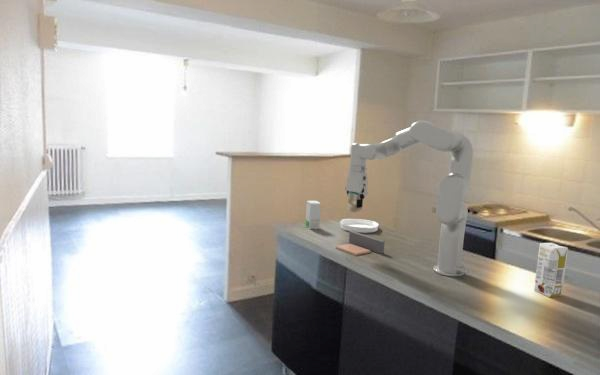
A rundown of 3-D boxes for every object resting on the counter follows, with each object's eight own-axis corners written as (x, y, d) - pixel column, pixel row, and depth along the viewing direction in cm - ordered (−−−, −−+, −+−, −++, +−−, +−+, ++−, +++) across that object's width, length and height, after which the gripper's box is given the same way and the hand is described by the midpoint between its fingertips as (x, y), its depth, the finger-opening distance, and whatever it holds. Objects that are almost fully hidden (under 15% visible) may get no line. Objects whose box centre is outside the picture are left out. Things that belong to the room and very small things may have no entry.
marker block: (362, 211, 206) (363, 193, 204) (354, 212, 203) (356, 193, 201) (354, 209, 210) (356, 191, 208) (347, 210, 207) (348, 192, 205)
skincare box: (305, 226, 255) (306, 200, 253) (315, 225, 257) (316, 200, 255) (309, 229, 247) (310, 203, 245) (320, 229, 249) (321, 202, 247)
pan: (359, 222, 273) (360, 216, 272) (390, 232, 250) (391, 225, 250) (329, 225, 259) (329, 219, 259) (358, 236, 237) (359, 229, 237)
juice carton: (548, 298, 158) (555, 248, 155) (530, 289, 166) (536, 242, 163) (564, 297, 160) (571, 248, 157) (545, 288, 168) (552, 241, 165)
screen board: (383, 253, 206) (384, 241, 205) (380, 253, 205) (381, 241, 204) (351, 242, 223) (352, 231, 223) (348, 242, 222) (349, 231, 221)
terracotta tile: (370, 252, 206) (370, 250, 206) (355, 255, 200) (355, 253, 200) (350, 245, 217) (350, 243, 217) (335, 248, 211) (335, 246, 211)
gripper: (376, 170, 199) (373, 209, 201) (350, 166, 212) (348, 202, 215) (365, 171, 194) (362, 210, 197) (339, 167, 207) (337, 203, 210)
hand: (355, 205), depth 206 cm, fingers closed on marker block, 5 cm apart
